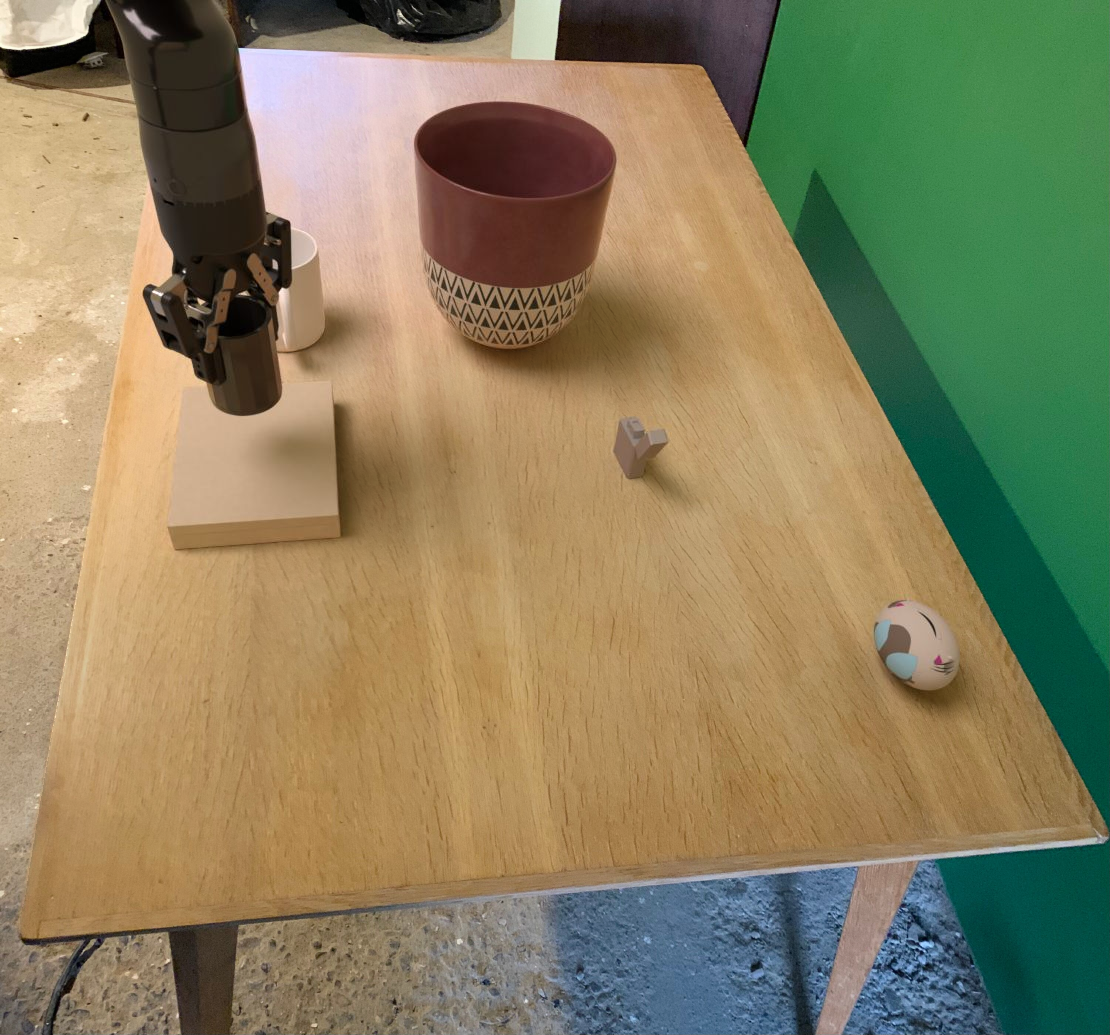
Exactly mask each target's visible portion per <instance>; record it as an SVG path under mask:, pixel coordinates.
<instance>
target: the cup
mask: <svg viewBox="0 0 1110 1035" xmlns="http://www.w3.org/2000/svg"><path fill="white" fill-rule="evenodd" d="M291 256H292V283H291V285H290V287H289V288H287V289H284V288H282V289H281V290H280V291H279V300H278V302H277V304H276V309H277V317H278V323H279V329H278V340H277V341H276V348H277V352H282V353H285V352H286V353H287V352H296V351H301V350H305V349H306V348H308V347H311V346H312V345H314V344H315V343H317V342H318V341H319V340H320V339H321V337H322V336H323V334H324V333H325V332H324V331H325V328H326V314H325V304H324V303H325V302H324V292H323V283H322V282H323V281H322V274H321V262H320V252H319V244H318V242H317V241H316V239H315V238H314V237H313V236H312V235H311V234H309V233H308V232H306V231H304V230H302V229H299V228H296V227H292V226H291ZM273 268H274V269H277V270H278V264H277V262H276V261H275V260H273ZM240 295H247V294H246V293H245V292H243V293H240Z"/></svg>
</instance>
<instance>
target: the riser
mask: <svg viewBox="0 0 1110 1035" xmlns="http://www.w3.org/2000/svg"><path fill="white" fill-rule="evenodd" d="M181 388H182V389H181V397H180V407H179V414H178V415H179V416H178V425H177V433H176V443H175V451H174V459H173V460H174V461H173V467H172V468H173V469H172V479H171V487H170V497H169V505H168V514H167V523H166V527H167V532H168V534H169V538H170V541H171V544H172V548H173V550H184V549H186V550H187V549H199V548H211V547H212V548H213V547H228V546H239V545H242V546H243V545H251V544H252V545H253V544H266V543H269V544H270V543H282V542H294V541H308V540H323V539H334V538H335V539H336V538H341V534H342V533H341V519H340V518H341V517H340V508H339V489H338V488H339V487H338V470H337V469H338V468H337V448H336V446H337V445H336V430H335V429H336V428H335V417H336V415H335V414H336V412H335V397H334V388H333V381H332V380H317V381H315V380H314V381H293V382H290V381H289V382H282V396H281V398H280V400H279V402H278V403H277V404H276V405H275V406H274V407H272V408H271V409H269V410H267V411H265V412H263V413H260V414H256V415H251V416H235V415H230V414H226V413H224V412H222V411H220V410H219V409H217V408H216V407H215V406H214V405H213V403H212V402H211V399H210V397H209V392H208V388H207V385H197V386H196V385H195V386H182V387H181Z"/></svg>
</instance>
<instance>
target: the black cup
mask: <svg viewBox="0 0 1110 1035" xmlns="http://www.w3.org/2000/svg"><path fill="white" fill-rule="evenodd" d="M200 305H202V306H204V307H206V308H208V309H211V310H212V304H210V303H207V302H205V301H203V303H201V304H200ZM203 329H204V323H203V322H202V321H200V320H199V324H198V332H200V333H203ZM216 346H217V347H219V350H220V355H221V360H222V364H223V369H224V374H225V379H226V381H225V382H224V383H223V384H222V385H221V386H219V387H216V386H214V385H212V384H209V383H207V382H205V383H206V386H207V388H208V392H209V397H210V399H211V402H212V403H213V405H214V406H215V407H216V408H217V409H219V410H220V411H222V412H224V413H226V414H230V415H235V416H251V415H256V414H260V413H263V412H265V411H267V410H269V409H271V408H272V407H274V406H275V405H276V404H277V403H278V402H279V400H280V398H281V396H282V383H283V382H282V376H281V368H280V361H279V356H278V351H277V348H276V341H275V334H274V327H273V320H272V314H271V309H270V308H269V307H268V306H267V305H266V304H265V303H264V302H263V301H262V300H259V299H257V298H255V297H252V296H248V295H240V294H237V295H236V296H235V297H234V299H233V300H232V301H231V302H230V303H229V305H228V311H227V318H226V322H225V323H224V324H221V325H220V327H219V333H218V339H217V345H216Z"/></svg>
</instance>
